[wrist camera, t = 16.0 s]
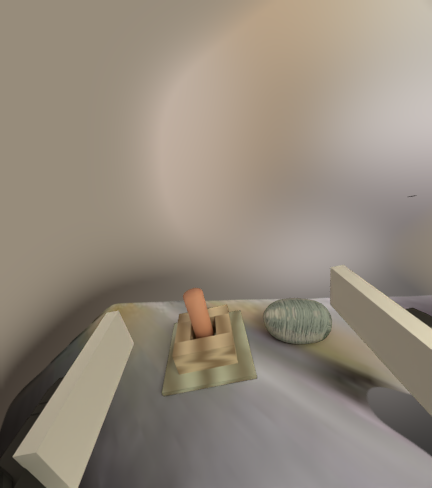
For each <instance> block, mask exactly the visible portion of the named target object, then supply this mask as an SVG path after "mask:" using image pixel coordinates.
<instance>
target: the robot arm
mask: <svg viewBox="0 0 432 488" xmlns="http://www.w3.org/2000/svg"><path fill="white" fill-rule="evenodd" d="M330 281H331V283H330V287H331V288H330V305H331V306H332V307H333V308H334V309H335V310H336V311H337V312H338V313H339V315H340V316H341V317H342V318H343V319H344V320H345V321H346V322H347V323H348V325H349V326H350V327H351V328H352V329H353V330H354V331H355V332H356V333H357V334H358V336H359V337H360V338H361V339H362V340H363V341H364V342H365V343H366V344H367V346H368V347H369V348H370V349H371V350H372V351H373V352H374V353H375V354H376V355H377V357H378V358H379V359H380V360H381V361H382V362H383V363H384V364H385V365H386V367H387V368H388V369H389V370H390V371H391V372H392V373H393V374H394V375H395V376H396V378H397V379H398V380H399V381H400V382H401V383H402V384H403V385H404V386H405V388H406V389H407V390H408V391H409V392H410V393H411V394H412V395H413V396H414V398H415V399H416V400H417V401H418V402H419V403H420V404H421V405H422V406H423V407H424V409H426V411H427V412H428V413H429V414H430V415H431V416H432V317H431V316H430V315H428V314H426V313H424V312H421V311H419V310H417V309H414V308H409V309H404V308H402V307H401V306H400V305H398V304H397V303H395V302H394V301H393V300H391V299H390V298H388V297H387V296H386V295H384V294H383V293H382V292H380V291H379V290H377V289H376V288H375V287H373V286H372V285H370V284H369V283H367V282H366V281H365V280H364V279H362V278H361V277H359V276H358V275H356V274H355V273H354V272H352V271H351V270H350V269H348V268H347V267H345V266H344V265H340V266H336V267H331V280H330ZM133 345H134V342H133V340H132V338H131V336H130V334H129V332H128V330H127V328H126V325H125V323H124V321H123V319H122V317H121V315H120V313H119V311H114V312H109V313H106V314H105V316H104V318H103V319H102V321H101V322H100V324H99V325H98V327H97V328H96V330H95V331H94V333H93V334H92V336H91V337H90V339H89V340H88V342H87V344H86V345H85V347H84V348H83V350H82V351H81V353H80V354H79V356H78V357H77V359H76V360H75V362H74V363H73V365H72V366H71V368H70V370H69V371H68V373H67V374H66V376H65V377H63V378H59V379H58V380H57V381H56V382H55V383H54V384H53V385H52V386H51V387H50V388H49V389H48V390H47V392H46V393H45V395H44V396H43V398H42V399H41V401H40V402H39V405H38V406H36V408H35V409H34V411H33V412H32V414H31V417H29V418H28V419H27V421H26V422H25V424H24V425H23V427H22V428H21V430H20V431H19V432H18V434H17V435H16V437H15V438H14V440H13V441H12V443H11V444H10V446H9V447H8V448H7V450H6V451H5V453H4V454H3V456H2V457H1V459H0V488H78V486H79V484H80V481H81V478H82V476H83V473H84V471H85V468H86V466H87V463H88V460H89V458H90V455H91V453H92V450H93V448H94V445H95V442H96V440H97V437H98V435H99V432H100V430H101V427H102V424H103V422H104V419H105V417H106V414H107V412H108V409H109V406H110V404H111V401H112V399H113V396H114V394H115V391H116V388H117V386H118V383H119V381H120V378H121V376H122V373H123V370H124V368H125V365H126V363H127V360H128V358H129V355H130V352H131V350H132V347H133Z"/></svg>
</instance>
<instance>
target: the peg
mask: <svg viewBox="0 0 432 488" xmlns="http://www.w3.org/2000/svg"><path fill="white" fill-rule="evenodd" d="M183 298H184V302H185V305H186V308H187V311H188V314H189V317H190V320H191V323H192V326H193V329H194V333H195V336H196V339H199V338H204V337H209V336H214V331H213V328H212V324H211V321H210V317H209V313H208V310H207V306H206V302H205V299H204V295H203V292H202V290H201V289H199V288H193V289H190V290H188V291H186V292H185V293H184V295H183Z"/></svg>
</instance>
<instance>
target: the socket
mask: <svg viewBox="0 0 432 488" xmlns="http://www.w3.org/2000/svg"><path fill="white" fill-rule="evenodd" d="M207 310H208V313H209V317H210V321H211V324H212V328H213V331H214V336H209V337H204V338H199V339H196V336H195V333H194V329H193V326H192V323H191V320H190V317H189V314H188V313H183V314H179V319H178V323H174V329H173V334H172V340H171V345H170V351H169V356H168V362H167V367H166V373H165V378H164V383H163V389H162V395H163V396H168V395H173V394H178V393H183V392H189V391H194V390H199V389H204V388H209V387H214V386H220V385H225V384H230V383H235V382H240V381H245V380H251V379H256V378H257V375H256V371H255V367H254V363H253V359H252V355H251V351H250V347H249V343H248V339H247V335H246V331H245V327H244V323H243V319H242V315H241V311H240V310H239V311H234V312H229V311H228V306H227V305H222V306H217V307H212V308H207Z"/></svg>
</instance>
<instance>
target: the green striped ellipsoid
mask: <svg viewBox="0 0 432 488" xmlns="http://www.w3.org/2000/svg"><path fill="white" fill-rule="evenodd" d="M263 319H264V323H265V326H266V328H267V330H268V331H269V333H270V334H271V335H272V336H273V337H275V338H276V339H278V340H281V341H283V342H287V343H293V344H309V343H316V342H318V341H321V340H323V339H325V338H326V337H327V336H328V335H329V333H330V331H331V328H332V319H331V315H330V313H329V311H328V310H327V308H326V307H325V306H323V305H322V304H321V303H319V302H316V301H313V300H309V299H301V298H289V299H282V300H278V301H275V302H273V303H272V304H270V305H269V306H268V307H267V309H266V310H265V312H264V315H263Z"/></svg>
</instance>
